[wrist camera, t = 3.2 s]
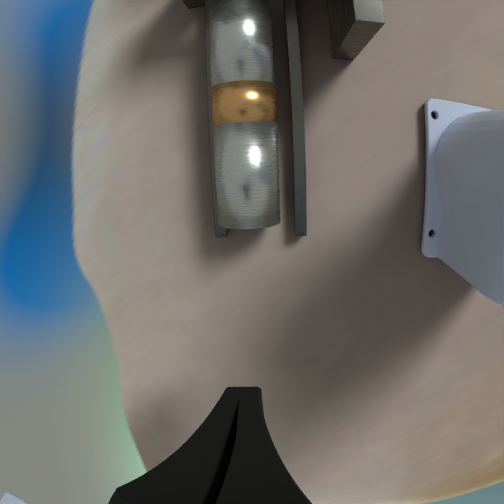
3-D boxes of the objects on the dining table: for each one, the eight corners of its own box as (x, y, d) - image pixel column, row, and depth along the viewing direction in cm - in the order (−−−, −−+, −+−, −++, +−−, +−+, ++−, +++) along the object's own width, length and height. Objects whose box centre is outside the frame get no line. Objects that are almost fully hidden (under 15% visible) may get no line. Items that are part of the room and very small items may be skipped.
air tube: (288, 217, 18) (267, 231, 15) (234, 214, 19) (207, 227, 16) (278, 9, 14) (256, -14, 11) (225, 19, 15) (197, 1, 12)
